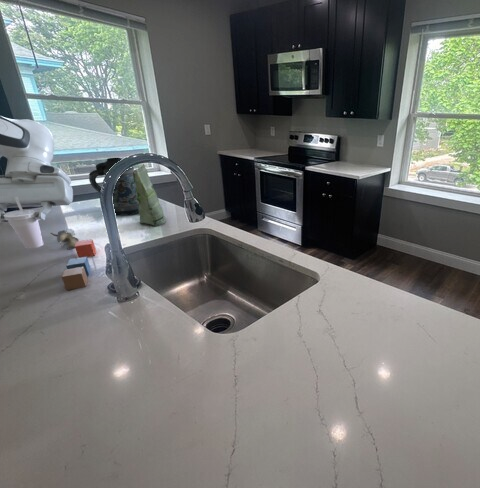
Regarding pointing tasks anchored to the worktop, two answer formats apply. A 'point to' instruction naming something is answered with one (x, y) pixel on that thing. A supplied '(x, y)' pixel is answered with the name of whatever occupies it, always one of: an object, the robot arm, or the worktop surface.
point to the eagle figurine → (67, 238)
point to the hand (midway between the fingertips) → (22, 220)
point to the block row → (79, 265)
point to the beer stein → (119, 188)
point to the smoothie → (25, 226)
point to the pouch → (147, 198)
